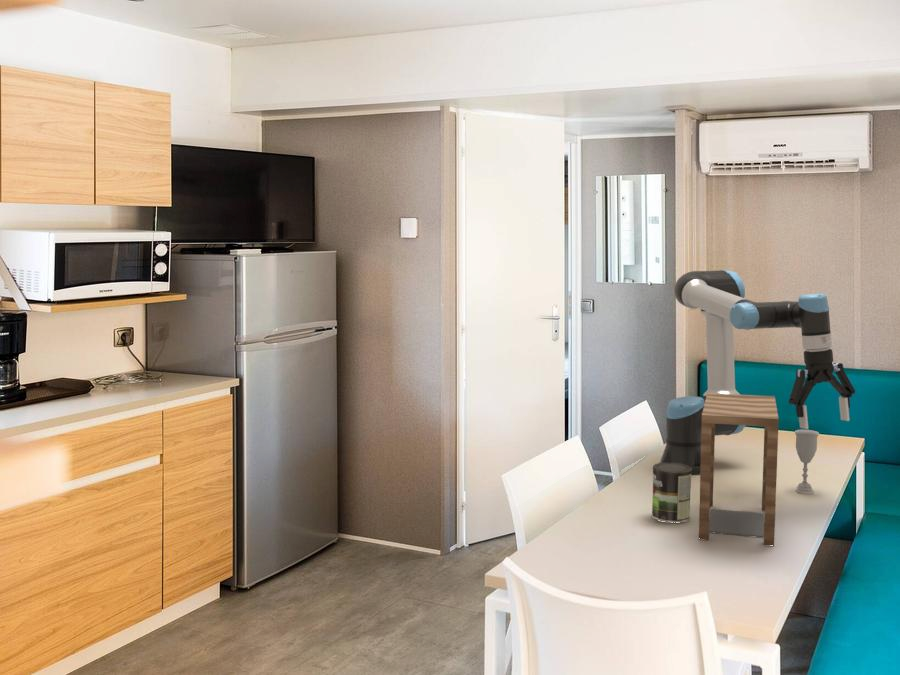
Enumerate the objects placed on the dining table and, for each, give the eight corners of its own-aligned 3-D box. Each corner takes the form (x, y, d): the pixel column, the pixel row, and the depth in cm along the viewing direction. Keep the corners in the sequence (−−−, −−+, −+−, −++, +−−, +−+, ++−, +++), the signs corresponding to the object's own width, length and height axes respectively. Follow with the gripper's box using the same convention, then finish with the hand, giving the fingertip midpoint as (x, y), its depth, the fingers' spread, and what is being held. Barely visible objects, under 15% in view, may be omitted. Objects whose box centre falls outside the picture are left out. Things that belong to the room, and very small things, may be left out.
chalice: (818, 495, 267) (821, 435, 265) (794, 494, 268) (796, 434, 266) (814, 488, 274) (816, 430, 272) (790, 487, 275) (792, 429, 273)
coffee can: (658, 524, 242) (659, 472, 240) (646, 512, 252) (647, 462, 250) (696, 523, 242) (697, 471, 241) (683, 511, 253) (684, 461, 251)
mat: (710, 510, 253) (710, 508, 253) (763, 514, 249) (763, 513, 249) (707, 532, 235) (707, 531, 235) (765, 537, 230) (765, 536, 230)
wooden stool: (704, 503, 260) (707, 393, 256) (770, 508, 254) (774, 396, 251) (698, 539, 230) (701, 414, 226) (774, 546, 224) (778, 419, 220)
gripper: (787, 356, 246) (795, 433, 247) (864, 343, 252) (871, 418, 254) (770, 355, 253) (778, 429, 255) (845, 342, 260) (852, 415, 261)
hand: (824, 424), depth 254 cm, fingers open, 13 cm apart
